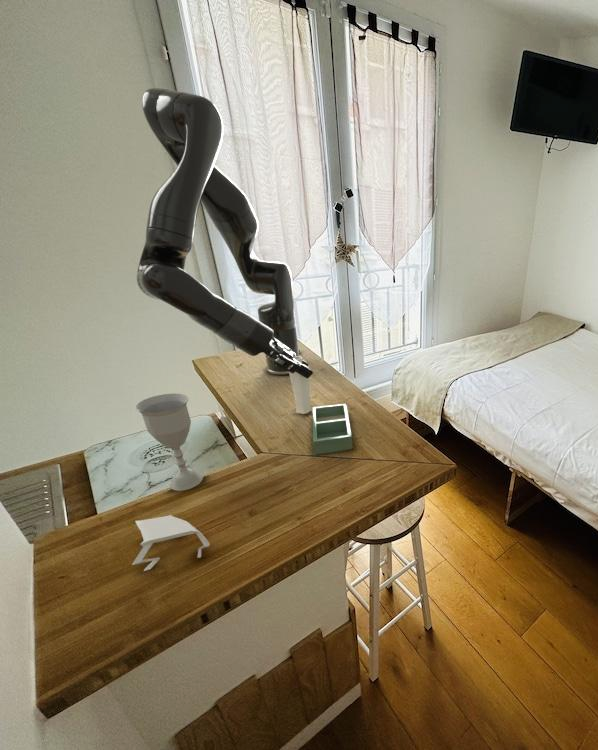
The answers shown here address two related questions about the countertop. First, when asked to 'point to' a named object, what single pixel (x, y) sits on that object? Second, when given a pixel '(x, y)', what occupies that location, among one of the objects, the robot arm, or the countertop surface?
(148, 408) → the chalice
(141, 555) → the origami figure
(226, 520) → the countertop surface
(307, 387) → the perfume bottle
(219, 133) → the robot arm
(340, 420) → the holder
